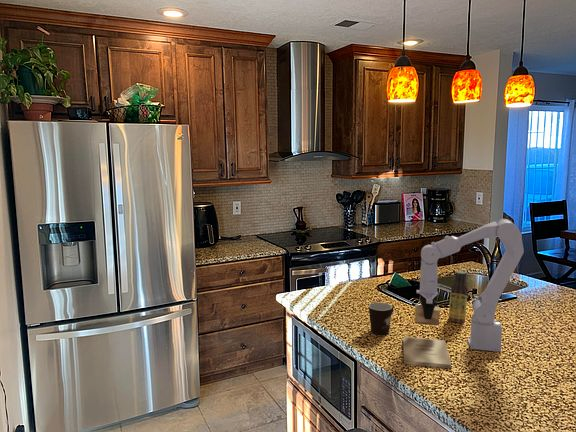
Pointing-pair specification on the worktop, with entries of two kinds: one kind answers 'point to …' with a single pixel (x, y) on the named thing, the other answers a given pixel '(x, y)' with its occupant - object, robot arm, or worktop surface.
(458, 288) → the sauce bottle
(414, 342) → the board
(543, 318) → the worktop surface
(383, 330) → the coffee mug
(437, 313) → the block
